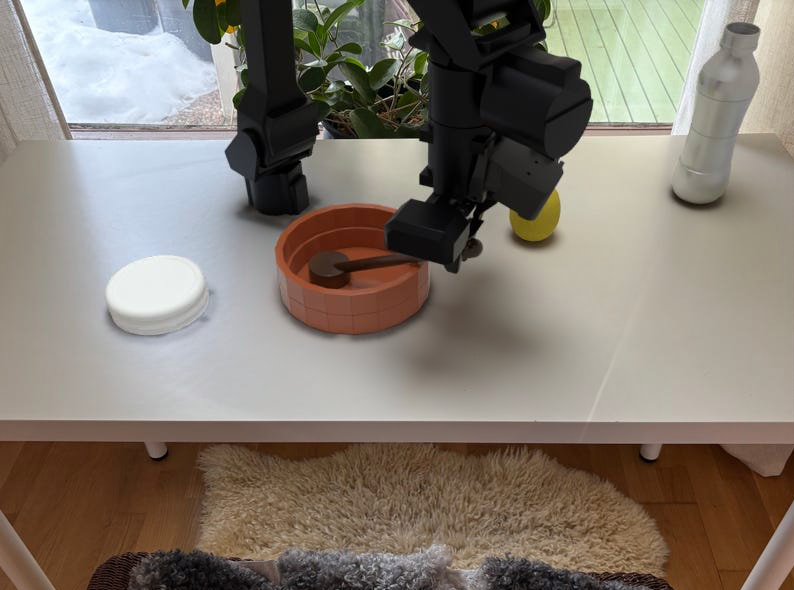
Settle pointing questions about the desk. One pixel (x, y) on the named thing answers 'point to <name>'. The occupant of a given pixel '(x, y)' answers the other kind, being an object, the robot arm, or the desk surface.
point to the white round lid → (157, 295)
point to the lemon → (538, 221)
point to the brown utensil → (365, 264)
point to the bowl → (366, 290)
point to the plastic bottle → (718, 115)
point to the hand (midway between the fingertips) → (457, 265)
